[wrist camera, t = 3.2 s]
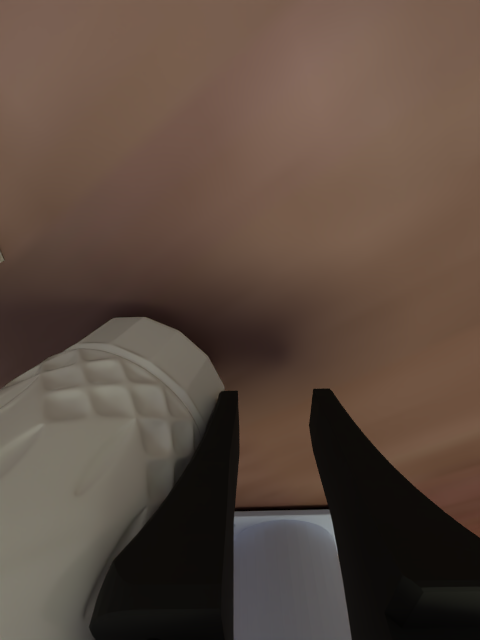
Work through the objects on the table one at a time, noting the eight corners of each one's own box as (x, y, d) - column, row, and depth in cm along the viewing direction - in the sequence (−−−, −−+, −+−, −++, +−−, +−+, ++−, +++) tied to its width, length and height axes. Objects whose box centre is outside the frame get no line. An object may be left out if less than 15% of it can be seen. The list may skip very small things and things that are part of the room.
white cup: (61, 364, 17) (-229, 595, 9) (123, 260, 12) (-366, 542, 4) (180, 462, 18) (16, 754, 10) (279, 399, 13) (126, 855, 5)
